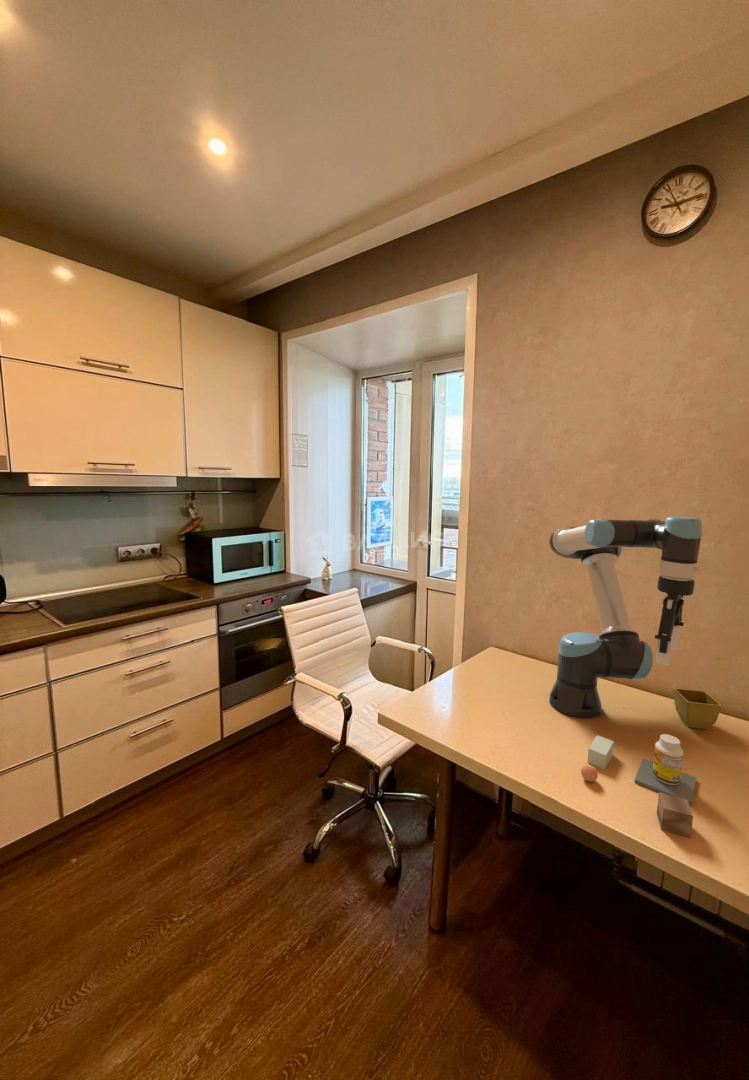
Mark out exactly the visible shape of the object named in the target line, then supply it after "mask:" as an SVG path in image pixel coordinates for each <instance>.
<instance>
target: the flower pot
mask: <svg viewBox="0 0 749 1080" xmlns="http://www.w3.org/2000/svg"><path fill="white" fill-rule="evenodd" d="M673 694H674V700H673V701H674V707H675V710H676V713H677V715H678V717H679V719H680V720H681V721H682V722H683V723H684V724H685V725H686V726H687V727H688V728H693V729H694V728H695V729H700V730H701V729H702V730H708V729H710V728H712V727H713V726H714V724H716V722H717V720H718V719H719V718H718V717H719V715H720V713H721V709H722V705H721V703H720V702H718V700H716V699H715V698H714V697H713V696H711V695H710V694H709V692H707V691H704V690H697V689H687V688H686V689H685V688H678V687H675V688H673Z"/></svg>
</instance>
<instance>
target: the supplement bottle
mask: <svg viewBox="0 0 749 1080" xmlns="http://www.w3.org/2000/svg"><path fill="white" fill-rule="evenodd" d="M683 760H684V750H683V749H682V747H681V740H680V739H679V738H678V737H676V736H673V735H671V734H667V733H664V734H663V733H662V734H660V736H659V740H657V741H655V744H654V754H653V775H654V776H655V778H656V779H658V780H659V781H661V782H663V783H665V784H668V785H678V784H679V783H680V780H681V772H683V771H682V769H683V762H684V761H683Z"/></svg>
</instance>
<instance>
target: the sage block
mask: <svg viewBox="0 0 749 1080" xmlns="http://www.w3.org/2000/svg"><path fill="white" fill-rule="evenodd" d="M614 743H615V741H613V740H611V739H610V738H609V739H608V738H606V737H603V736H600V735H599V734H597V735H596V736H595V738H594V739H593V742H591V745H590V746H589V748H588V752H587V753H588V754H587V762H586V763H588V764H589V765H592V766H594V767H595V766H596V767H598V768H600V769H602V770H605V769H606V768H607V766H608V765H609V763H610V760H611V758H612V756H613V755H614Z"/></svg>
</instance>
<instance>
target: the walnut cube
mask: <svg viewBox="0 0 749 1080" xmlns="http://www.w3.org/2000/svg"><path fill="white" fill-rule="evenodd" d="M657 798H658V799H657V808H656V817H657V820H658V824H659V827H660V830H661V831H665V832H667V833H672V834H675V835H678V836H681V837H685V838H688V839H691V838H692V829H693V821H694V815H693V811H692V809H691V805H689V803H688V801H687V800H686V799H683V798H679V797H675V796H671V795H668V794H664V793H660V792H658V797H657Z"/></svg>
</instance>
